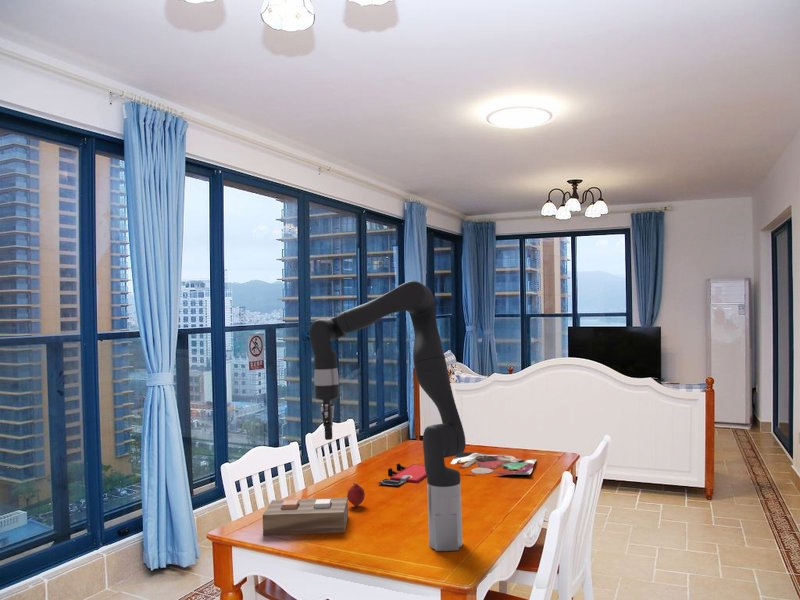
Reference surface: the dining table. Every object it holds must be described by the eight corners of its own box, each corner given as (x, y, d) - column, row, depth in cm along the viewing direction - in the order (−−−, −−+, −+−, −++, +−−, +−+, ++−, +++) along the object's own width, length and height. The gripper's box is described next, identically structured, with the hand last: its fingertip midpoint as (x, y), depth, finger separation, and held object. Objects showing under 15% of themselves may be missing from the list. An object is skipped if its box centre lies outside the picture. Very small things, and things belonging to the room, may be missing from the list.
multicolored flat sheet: (538, 458, 264) (538, 453, 264) (529, 480, 231) (529, 475, 231) (459, 454, 275) (459, 450, 275) (440, 475, 241) (440, 470, 241)
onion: (356, 502, 208) (355, 479, 208) (368, 505, 205) (367, 481, 205) (344, 507, 204) (343, 483, 204) (356, 510, 200) (355, 485, 200)
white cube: (329, 516, 185) (329, 503, 185) (315, 517, 185) (314, 503, 185) (331, 511, 189) (330, 498, 190) (316, 512, 189) (316, 499, 190)
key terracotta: (296, 517, 185) (296, 504, 185) (282, 518, 185) (281, 504, 185) (298, 512, 189) (298, 499, 189) (284, 513, 189) (284, 500, 189)
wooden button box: (344, 532, 180) (343, 512, 180) (263, 535, 180) (262, 514, 180) (348, 516, 194) (347, 497, 194) (272, 519, 194) (272, 500, 194)
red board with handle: (373, 485, 229) (409, 489, 223) (372, 477, 229) (409, 481, 223) (404, 466, 256) (437, 470, 250) (404, 460, 256) (437, 463, 251)
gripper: (337, 384, 184) (339, 442, 183) (339, 380, 197) (341, 434, 196) (312, 385, 183) (314, 444, 183) (316, 381, 197) (318, 436, 196)
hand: (328, 439), depth 189 cm, fingers closed
